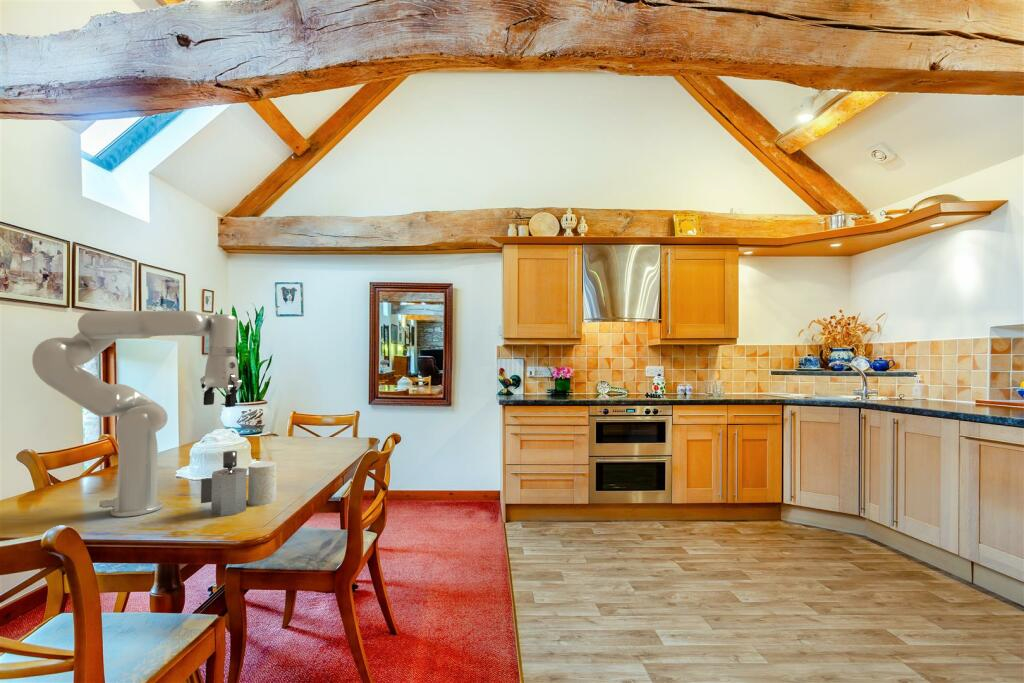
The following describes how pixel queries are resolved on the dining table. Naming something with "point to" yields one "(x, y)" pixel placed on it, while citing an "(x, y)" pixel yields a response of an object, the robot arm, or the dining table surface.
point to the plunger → (229, 460)
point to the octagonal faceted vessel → (225, 491)
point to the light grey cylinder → (262, 483)
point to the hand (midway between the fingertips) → (219, 405)
